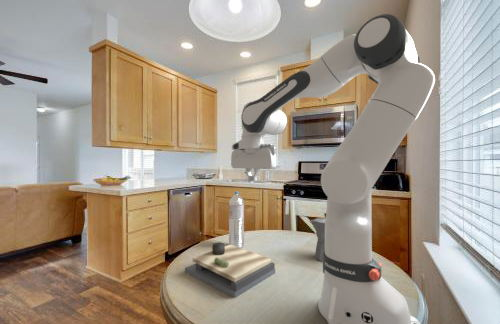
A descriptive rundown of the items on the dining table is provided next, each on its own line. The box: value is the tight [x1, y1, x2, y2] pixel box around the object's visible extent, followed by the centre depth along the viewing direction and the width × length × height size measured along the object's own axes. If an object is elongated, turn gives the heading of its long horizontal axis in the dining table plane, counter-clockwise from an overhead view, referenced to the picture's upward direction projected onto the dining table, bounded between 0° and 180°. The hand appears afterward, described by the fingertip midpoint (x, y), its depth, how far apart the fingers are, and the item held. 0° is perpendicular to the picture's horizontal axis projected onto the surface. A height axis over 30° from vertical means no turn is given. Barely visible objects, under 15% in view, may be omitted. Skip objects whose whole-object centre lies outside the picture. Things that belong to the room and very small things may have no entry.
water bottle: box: [228, 191, 245, 249], centre depth 107 cm, size 7×7×25 cm
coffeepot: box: [309, 212, 326, 263], centre depth 94 cm, size 15×9×18 cm, turn 86°
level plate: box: [192, 242, 272, 282], centre depth 80 cm, size 20×18×4 cm
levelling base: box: [184, 261, 276, 298], centre depth 81 cm, size 24×20×4 cm
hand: (252, 180), depth 90 cm, fingers closed
